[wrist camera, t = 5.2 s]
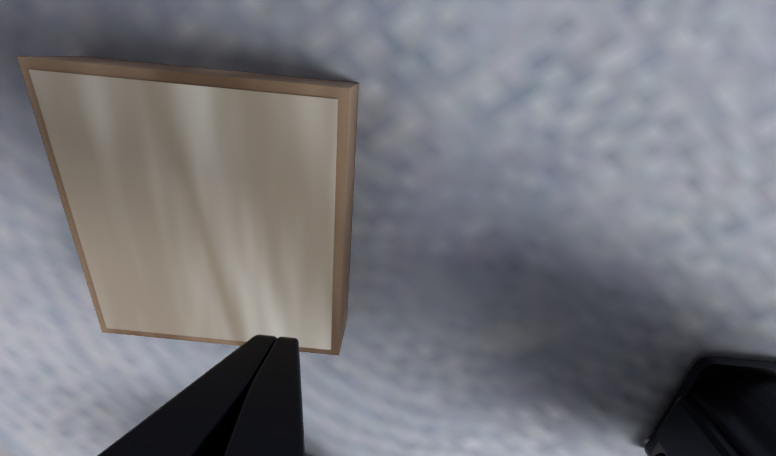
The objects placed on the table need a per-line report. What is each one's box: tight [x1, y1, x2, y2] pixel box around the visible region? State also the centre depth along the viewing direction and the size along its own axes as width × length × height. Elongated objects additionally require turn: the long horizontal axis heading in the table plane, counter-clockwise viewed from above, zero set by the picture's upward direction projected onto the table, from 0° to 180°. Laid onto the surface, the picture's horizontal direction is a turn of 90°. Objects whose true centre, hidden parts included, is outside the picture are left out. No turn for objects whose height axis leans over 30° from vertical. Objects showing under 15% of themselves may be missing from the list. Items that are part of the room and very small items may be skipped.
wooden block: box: [17, 56, 359, 355], centre depth 13 cm, size 3×10×9 cm
